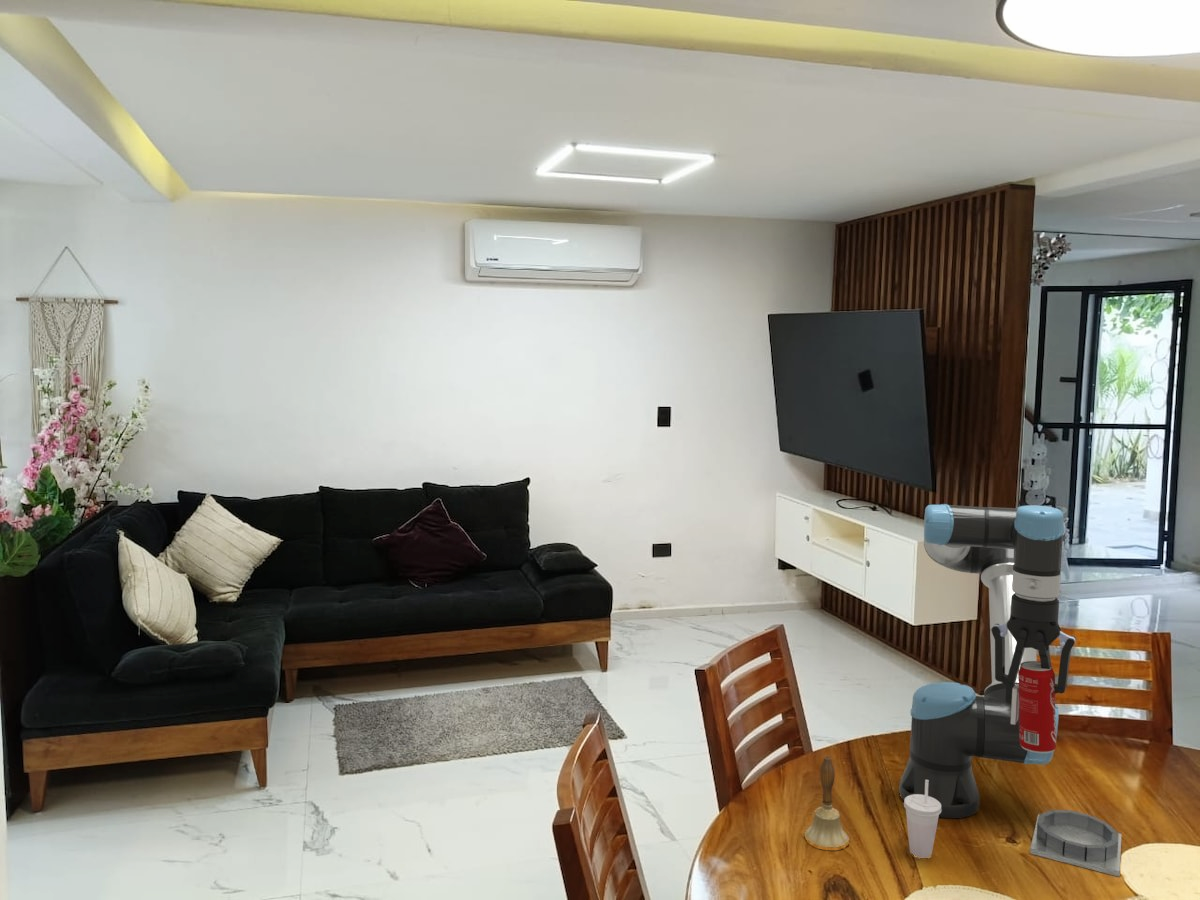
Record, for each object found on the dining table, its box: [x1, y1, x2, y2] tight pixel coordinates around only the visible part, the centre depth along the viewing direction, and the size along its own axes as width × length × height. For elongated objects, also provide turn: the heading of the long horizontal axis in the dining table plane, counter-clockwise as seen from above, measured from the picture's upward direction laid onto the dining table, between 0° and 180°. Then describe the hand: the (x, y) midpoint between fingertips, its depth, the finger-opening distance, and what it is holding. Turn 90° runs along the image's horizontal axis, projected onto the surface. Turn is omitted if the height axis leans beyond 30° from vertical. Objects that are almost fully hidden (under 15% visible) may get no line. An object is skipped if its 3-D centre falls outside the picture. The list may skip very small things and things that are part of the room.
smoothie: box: [903, 780, 941, 859], centre depth 163 cm, size 6×6×14 cm
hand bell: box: [804, 755, 850, 847], centre depth 167 cm, size 8×8×16 cm
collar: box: [1029, 809, 1122, 878], centre depth 165 cm, size 14×14×4 cm
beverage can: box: [1018, 660, 1057, 754], centre depth 158 cm, size 6×6×15 cm
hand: (1028, 724), depth 160 cm, fingers closed on beverage can, 4 cm apart
